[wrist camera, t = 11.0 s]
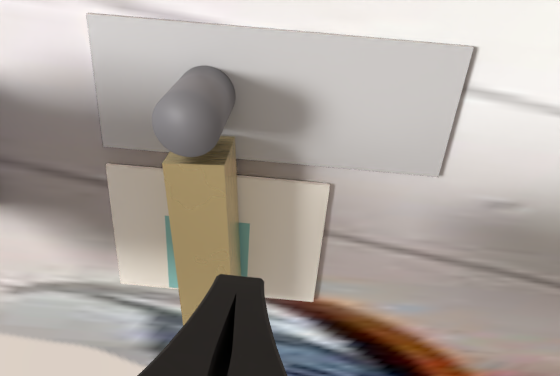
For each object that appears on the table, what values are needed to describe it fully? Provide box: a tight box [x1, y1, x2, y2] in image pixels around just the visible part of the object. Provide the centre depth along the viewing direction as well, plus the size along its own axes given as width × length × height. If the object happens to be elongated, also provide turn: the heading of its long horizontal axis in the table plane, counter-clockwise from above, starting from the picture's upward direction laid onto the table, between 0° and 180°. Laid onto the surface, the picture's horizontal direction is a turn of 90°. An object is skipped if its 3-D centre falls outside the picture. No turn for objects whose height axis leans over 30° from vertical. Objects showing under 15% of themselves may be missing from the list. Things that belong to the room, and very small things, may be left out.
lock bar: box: [162, 136, 241, 326], centre depth 22 cm, size 9×2×3 cm, turn 0°
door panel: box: [86, 13, 474, 302], centre depth 21 cm, size 16×14×4 cm
